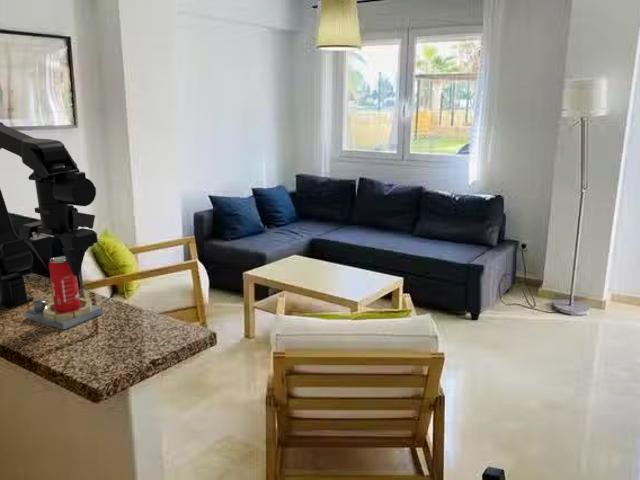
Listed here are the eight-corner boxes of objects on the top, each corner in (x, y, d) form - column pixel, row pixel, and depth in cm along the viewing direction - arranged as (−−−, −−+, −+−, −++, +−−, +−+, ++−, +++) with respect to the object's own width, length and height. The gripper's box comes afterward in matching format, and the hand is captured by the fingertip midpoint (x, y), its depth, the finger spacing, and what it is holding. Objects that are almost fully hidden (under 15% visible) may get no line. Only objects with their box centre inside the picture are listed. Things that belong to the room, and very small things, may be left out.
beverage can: (71, 316, 123) (64, 263, 120) (50, 314, 124) (42, 261, 121) (85, 307, 128) (79, 256, 125) (65, 305, 129) (58, 255, 126)
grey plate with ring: (26, 318, 126) (24, 303, 126) (66, 303, 135) (64, 289, 134) (63, 330, 120) (61, 314, 119) (103, 313, 128) (101, 299, 127)
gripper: (114, 199, 122) (122, 268, 126) (59, 191, 131) (67, 256, 135) (69, 209, 113) (78, 283, 117) (12, 200, 122) (23, 269, 126)
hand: (63, 272), depth 124 cm, fingers open, 9 cm apart
